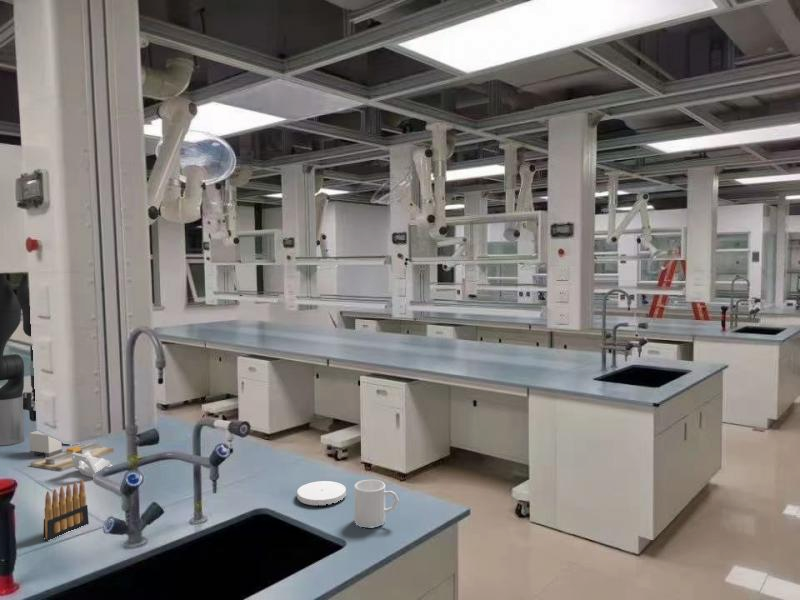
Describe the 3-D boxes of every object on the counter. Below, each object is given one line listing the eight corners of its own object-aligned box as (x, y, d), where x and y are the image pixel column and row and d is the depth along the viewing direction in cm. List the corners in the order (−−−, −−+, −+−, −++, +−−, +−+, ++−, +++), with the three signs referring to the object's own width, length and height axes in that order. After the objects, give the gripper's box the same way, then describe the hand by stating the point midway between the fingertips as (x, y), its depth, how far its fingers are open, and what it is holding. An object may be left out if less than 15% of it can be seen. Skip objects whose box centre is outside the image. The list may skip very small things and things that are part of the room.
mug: (393, 533, 141) (393, 494, 141) (349, 526, 145) (349, 488, 145) (403, 519, 149) (403, 483, 149) (361, 513, 153) (361, 477, 152)
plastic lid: (288, 505, 159) (288, 496, 159) (311, 486, 172) (310, 478, 172) (333, 511, 155) (333, 502, 155) (353, 492, 168) (353, 484, 168)
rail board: (30, 466, 189) (30, 458, 189) (84, 447, 209) (84, 440, 209) (62, 470, 185) (61, 463, 185) (113, 451, 205) (113, 444, 205)
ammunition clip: (48, 541, 137) (46, 493, 137) (43, 540, 138) (41, 491, 137) (88, 523, 147) (87, 478, 146) (84, 522, 148) (82, 477, 147)
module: (30, 455, 200) (29, 433, 200) (43, 450, 205) (42, 429, 205) (49, 458, 197) (48, 435, 197) (61, 453, 202) (61, 431, 202)
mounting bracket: (78, 477, 184) (63, 451, 180) (94, 464, 189) (81, 439, 185) (101, 484, 179) (87, 457, 174) (117, 470, 184) (104, 444, 179)
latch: (66, 451, 196) (66, 448, 196) (74, 449, 199) (73, 446, 199) (73, 452, 195) (72, 449, 195) (80, 450, 198) (80, 447, 198)
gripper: (53, 368, 208) (55, 412, 208) (15, 375, 194) (18, 422, 195) (68, 369, 205) (70, 413, 206) (32, 376, 192) (34, 424, 193)
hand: (45, 417), depth 201 cm, fingers open, 8 cm apart
